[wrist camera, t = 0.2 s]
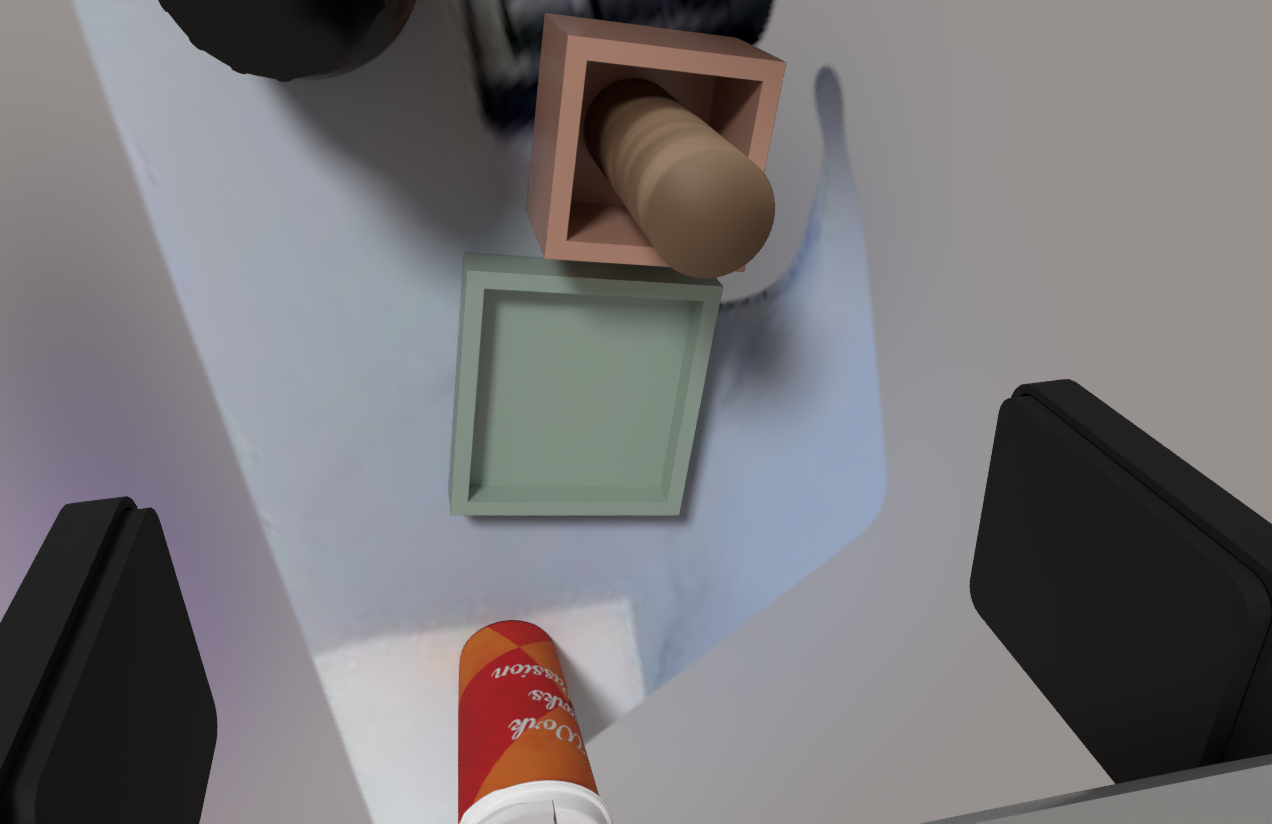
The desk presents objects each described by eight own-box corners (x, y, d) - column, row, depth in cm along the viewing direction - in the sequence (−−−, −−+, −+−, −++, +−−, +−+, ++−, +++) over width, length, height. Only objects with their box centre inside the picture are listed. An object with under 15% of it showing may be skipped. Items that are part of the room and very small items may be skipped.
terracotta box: (544, 12, 42) (568, 35, 36) (736, 37, 44) (786, 62, 38) (526, 211, 46) (544, 258, 40) (703, 224, 48) (744, 271, 42)
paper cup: (596, 658, 60) (648, 857, 48) (494, 725, 60) (518, 937, 48) (520, 580, 56) (555, 776, 44) (411, 653, 56) (415, 865, 44)
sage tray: (464, 252, 46) (467, 270, 44) (709, 268, 49) (722, 286, 47) (448, 489, 52) (450, 515, 50) (668, 491, 55) (678, 515, 53)
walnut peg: (589, 72, 43) (659, 143, 32) (686, 83, 44) (787, 156, 33) (578, 173, 45) (639, 274, 34) (671, 181, 46) (760, 281, 35)
